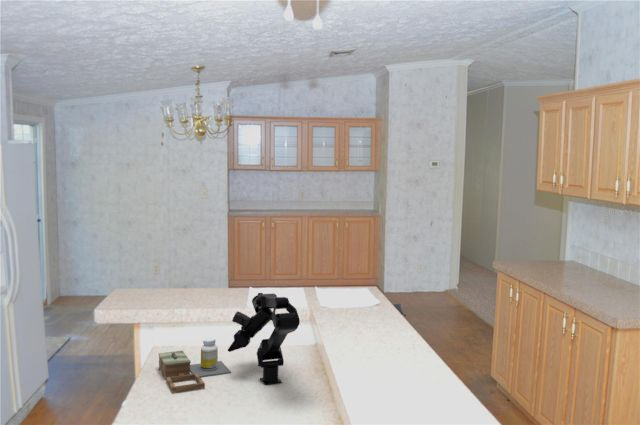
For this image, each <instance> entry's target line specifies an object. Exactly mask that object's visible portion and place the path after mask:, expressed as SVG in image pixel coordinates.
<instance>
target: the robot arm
mask: <svg viewBox="0 0 640 425" xmlns="http://www.w3.org/2000/svg"><path fill="white" fill-rule="evenodd" d="M251 304H252V306H253V309H254V311H255V312H254V313H255V314H254V315H251V317H249V316H248V315H247V314H245V313H242V312H241V311H236V312H235V314H234V316H233V317H232V319H231V322H233V323H235V324H238V325H239V326H241V327H240V329H239V330H237V332H235V333H234V334H233V342H232V343H231V344H230V346H229V347H228V349H227V351H228V352H229V353H231V352H234V351H237V350H240V349H243V348H246V347H247V346H248V345H250V343H251V339H253V338H254V337H255V336H256V335H257V334H258V333H259V332H260V331H261V330H262V329H263V328H264V327H265V326H267V324H268V323H270V322H271V321H272V324H273V327H274V328H273V331H272V333H271V334H270V336H269V338H263V339H261V342H260V343H259V347H258V348H257V352H256V356H257V367H259V368H261V369H262V377H259V380H260V381H261V383H262V384H264V385H266V386H267V385H268V386H269V385H274V384H280V383H282V380H281V379H280V377H279V366H282V367H283V366H284V362H285V361H284V356H283V351H282V347H281V346H282V345H283V343H284V341H285V339H286V338H287V336H288V334H290V333H293V332H295V331H296V330H297V329H298V328H299V326H300V317H299V313H298V311H297V308H296V306H295V307H294V306H293V305H292V304H291V302H290V300H289V298H288V297H286V296H280V297H279V296H277V294H276V293H263V292H258V293H257V295H255V296H254V297H253V298H252V299H251ZM272 309H273V310H272ZM280 309H281V310H286V311H287V312H284V313H283V312H282V313H276V311H277V310H280Z"/></svg>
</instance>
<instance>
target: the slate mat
mask: <svg viewBox="0 0 640 425" xmlns="http://www.w3.org/2000/svg"><path fill="white" fill-rule="evenodd" d="M194 373H197V374H198V375H199V376H200V378H201V379H202V378H207V377H214V376H222V375H229V374H232V371H231V370H230V369H229V368H228V366H226V364H225V363H224V362H223V361H222V360H218V366H217V368H216V369H215V370H211V371H205V370H202V369H201V363H196V364H190V374H194Z"/></svg>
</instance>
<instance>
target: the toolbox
mask: <svg viewBox="0 0 640 425" xmlns="http://www.w3.org/2000/svg"><path fill="white" fill-rule="evenodd" d="M190 365H191V359H190V358H189V357H188V356H187V355H186V353H185V352H184V351H183V350H176V351H168V352H158V369H159V371H160V373H161V375H162V376H163V379H164V380H165V382H166V383H165V384H166V385H167V387H168V389H169V390H170V392H171V394H179V393H185V392H193V391H200V390H205V388H206V387H205V386H206V383H205V382H204V380H203V379H202V377H201V378H200V376H199V375H198V374H197V373H194V374H192V373H191V372H190ZM189 381H195V383H189V384H183V385H175V384H176V383H182V382H189ZM174 383H175V384H174Z"/></svg>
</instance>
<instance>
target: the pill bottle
mask: <svg viewBox="0 0 640 425" xmlns="http://www.w3.org/2000/svg"><path fill="white" fill-rule="evenodd" d="M202 343H203V345H202V346H201V347H200V364H201V369H202V370H205V371H211V370H215V369H216V368H217V366H218V361H219V360H218V356H219V355H218V354H219V352H218V350H219V348H218V346H217V345H216V338H213V337H207V338H203V340H202Z"/></svg>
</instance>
